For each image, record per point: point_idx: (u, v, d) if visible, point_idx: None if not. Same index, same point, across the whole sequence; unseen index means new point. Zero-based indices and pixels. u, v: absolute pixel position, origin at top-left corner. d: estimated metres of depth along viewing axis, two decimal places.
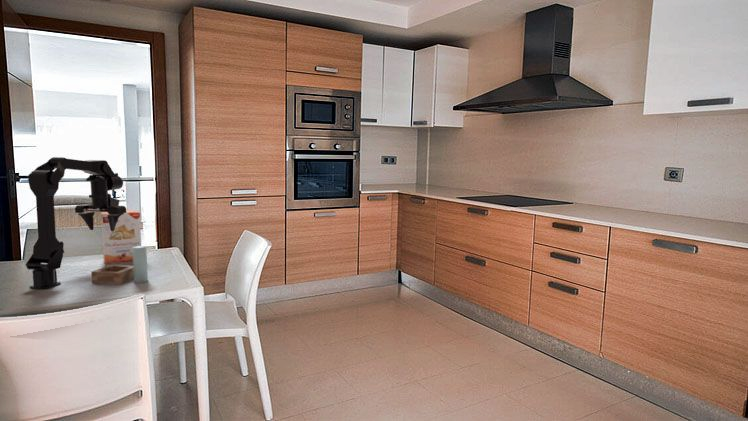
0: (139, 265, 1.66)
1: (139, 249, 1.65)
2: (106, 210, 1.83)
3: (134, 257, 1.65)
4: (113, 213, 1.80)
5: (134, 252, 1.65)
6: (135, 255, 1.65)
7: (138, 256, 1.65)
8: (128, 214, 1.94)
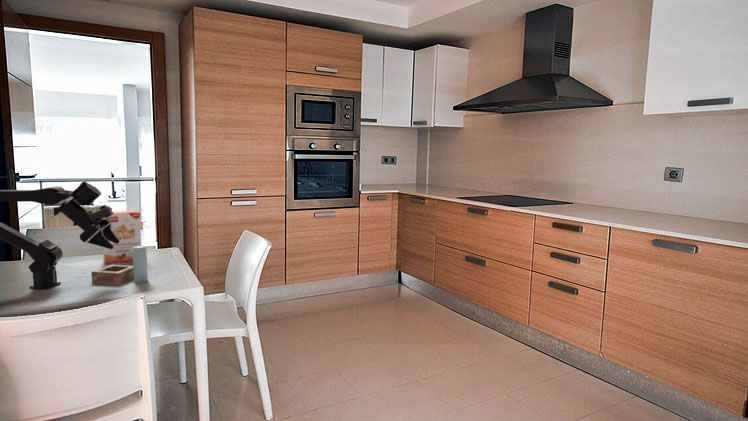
0: (139, 265, 1.66)
1: (139, 249, 1.65)
2: None
3: (134, 257, 1.65)
4: None
5: (134, 252, 1.65)
6: (135, 255, 1.65)
7: (138, 256, 1.65)
8: (128, 214, 1.94)
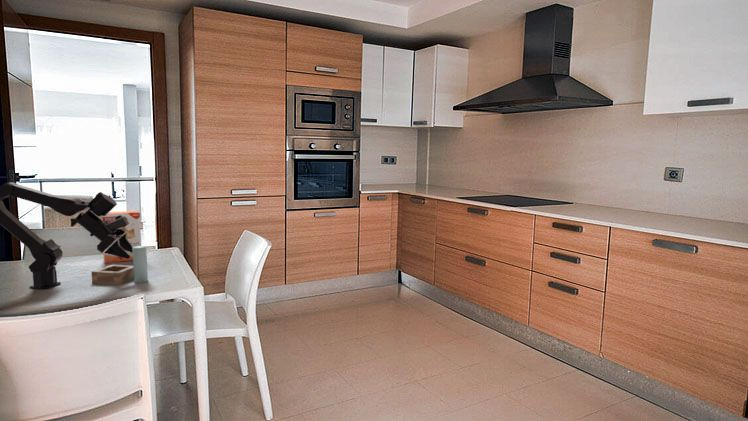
0: (139, 265, 1.66)
1: (139, 249, 1.65)
2: None
3: (134, 257, 1.65)
4: None
5: (134, 252, 1.65)
6: (135, 255, 1.65)
7: (138, 256, 1.65)
8: (128, 214, 1.94)
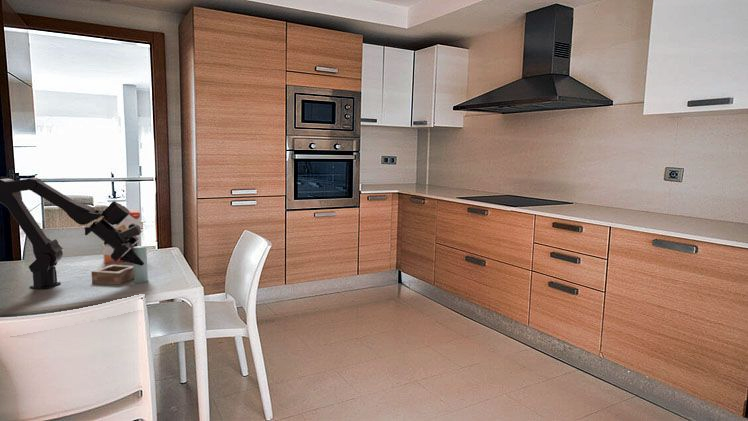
0: (139, 265, 1.66)
1: (139, 249, 1.65)
2: None
3: None
4: None
5: (134, 252, 1.65)
6: None
7: (138, 256, 1.65)
8: None
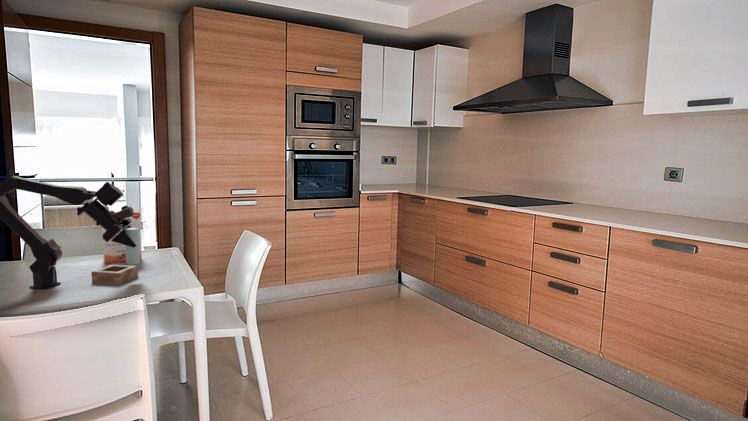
0: (131, 247, 1.65)
1: (132, 231, 1.64)
2: None
3: None
4: None
5: None
6: None
7: None
8: None
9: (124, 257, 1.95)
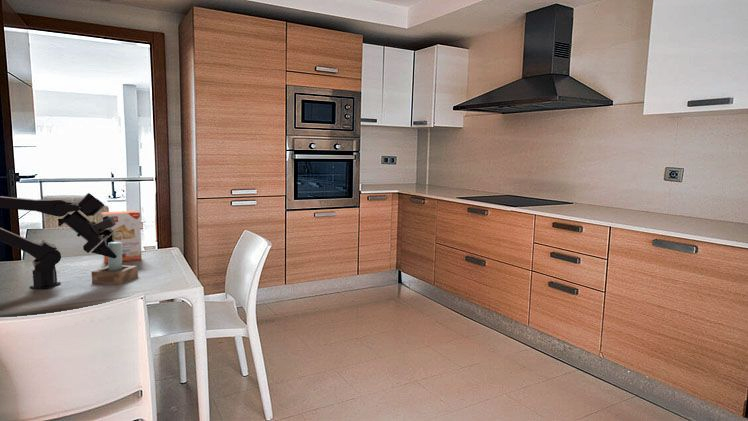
0: (113, 260, 1.67)
1: (114, 245, 1.66)
2: None
3: None
4: None
5: (109, 247, 1.66)
6: None
7: None
8: (128, 214, 1.94)
9: (124, 257, 1.95)
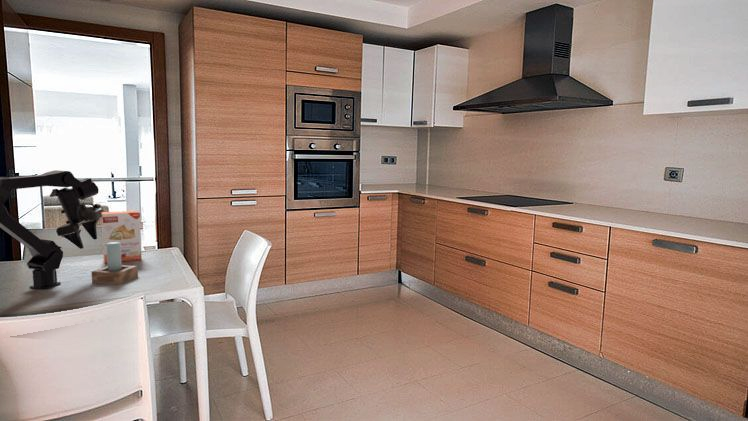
0: (113, 261, 1.67)
1: (113, 245, 1.66)
2: None
3: (108, 253, 1.66)
4: None
5: (108, 248, 1.66)
6: (109, 251, 1.66)
7: (111, 252, 1.66)
8: (128, 214, 1.94)
9: (124, 257, 1.95)
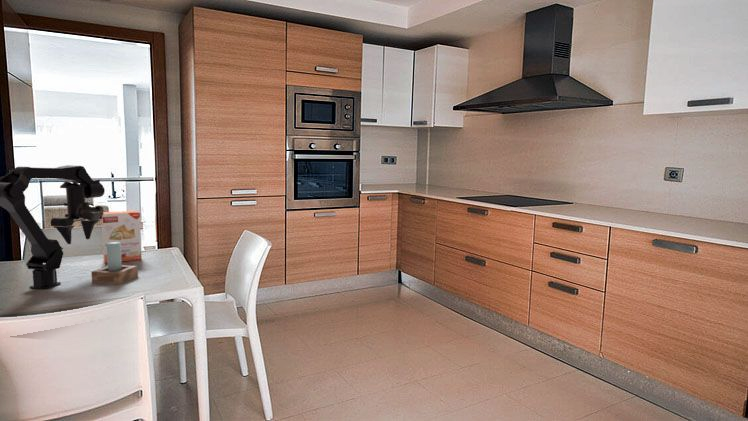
0: (113, 261, 1.67)
1: (113, 245, 1.66)
2: None
3: (108, 253, 1.66)
4: None
5: (108, 248, 1.66)
6: (109, 251, 1.66)
7: (111, 252, 1.66)
8: (128, 214, 1.94)
9: (124, 257, 1.95)
